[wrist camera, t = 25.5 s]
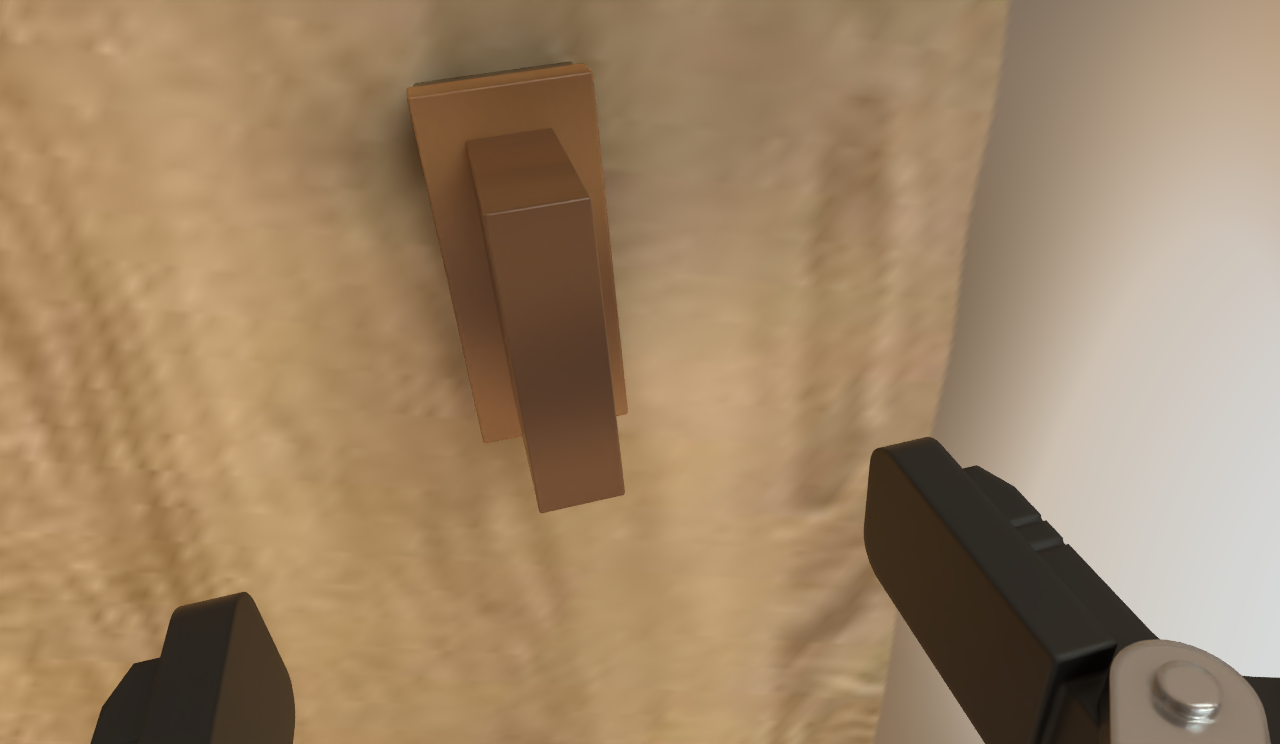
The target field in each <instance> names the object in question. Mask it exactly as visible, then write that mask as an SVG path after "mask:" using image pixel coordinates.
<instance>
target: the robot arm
mask: <svg viewBox="0 0 1280 744" xmlns="http://www.w3.org/2000/svg"><path fill="white" fill-rule="evenodd" d="M864 542H865V548H866V552H867V555H868V559H869V562H870V564H871V567H872V569H873V571H874V573H875V575H876V577H877V578H878V580H879V581H880V583H881V584H882V586H883V587H884V589H885V591H886V592H887V594H888V595H889V597H890V598H891V600H892V601H893V603H894V604H895V606H896V607H897V609H898V611H899V612H900V614H901V615H902V617H903V618H904V620H905V621H906V623H907V624H908V626H909V627H910V629H911V630H912V632H913V634H914V635H915V636H916V638H917V640H918V641H919V643H920V644H921V646H922V647H923V649H924V650H925V652H926V654H927V655H928V657H929V658H930V660H931V661H932V663H933V664H934V666H935V667H936V669H937V670H938V672H939V673H940V675H941V676H942V678H943V680H944V681H945V683H946V684H947V686H948V687H949V689H950V690H951V692H952V693H953V695H954V697H955V698H956V699H957V701H958V703H959V704H960V706H961V707H962V709H963V710H964V712H965V713H966V715H967V716H968V718H969V719H970V721H971V723H972V724H973V725H974V727H975V729H976V730H977V732H978V733H979V735H980V736H981V738H982V739H983V741H984V743H985V744H1280V678H1269V677H1249V676H1242V675H1240V674H1239V673H1238V672H1237V671H1236V670H1234V669H1233V668H1232V667H1231V666H1230V665H1228V664H1227V663H1225V662H1224V661H1222V660H1221V659H1219V658H1217V657H1215V656H1214V655H1212V654H1210V653H1208V652H1206V651H1204V650H1201V649H1199V648H1196V647H1194V646H1191V645H1187V644H1184V643H1181V642H1175V641H1169V640H1160V639H1159V638H1158V637H1157V636H1155V634H1153V633H1152V632H1151V631H1150V630H1149V629H1148V628H1147V627H1146V626H1145V624H1144V623H1143V622H1142V621H1141V620H1140V619H1139V618H1138V617H1137V616H1136V615H1135V614H1134V613H1133V612H1132V611H1131V610H1130V609H1129V607H1128V606H1127V605H1126V604H1125V603H1124V602H1123V601H1122V600H1121V599H1120V598H1119V597H1118V596H1117V595H1116V594H1115V593H1114V592H1113V591H1112V589H1111V588H1110V587H1109V586H1108V585H1107V584H1106V583H1105V582H1104V581H1103V580H1102V579H1101V578H1100V577H1099V576H1098V575H1097V574H1096V573H1095V572H1094V570H1093V569H1092V568H1091V567H1090V566H1089V565H1088V564H1087V563H1086V562H1085V561H1084V560H1083V559H1082V558H1081V557H1080V556H1079V555H1078V554H1077V553H1076V551H1075V550H1074V549H1073V548H1072V547H1071V546H1070V545H1069V544H1067V545H1065V544H1064V542H1063V538H1062V537H1061V536H1060V534H1059V533H1058V532H1057V531H1056V530H1055V529H1054V528H1053V527H1052V526H1051V525H1050V524H1049V523H1048V522H1047V521H1043V520H1042V519H1041V515H1040V513H1039V512H1038V511H1037V510H1036V509H1035V508H1034V507H1033V506H1032V505H1031V504H1030V503H1029V502H1028V501H1027V500H1026V499H1025V497H1024V496H1023V495H1022V494H1021V493H1020V492H1019V491H1018V490H1017V489H1016V488H1015V487H1014V486H1012V485H1010V484H1009V483H1007V482H1005V481H1004V480H1002V479H1000V478H998V477H996V476H994V475H993V474H991V473H990V472H988V471H986V470H984V469H983V468H981V467H979V466H972V467H968V468H964V469H962V468H961V466H960V465H959V464H958V463H957V462H956V461H955V460H954V459H953V458H952V457H951V455H950V454H949V453H948V452H947V451H946V450H945V448H944V447H943V446H942V445H941V444H940V443H939V442H938V441H937V440H935V439H934V438H931V437H925V438H920V439H916V440H912V441H907V442H903V443H899V444H894V445H890V446H886V447H881V448H877V449H875V450H874V451H873V453H872V456H871V460H870V468H869V479H868V490H867V501H866V511H865V522H864ZM294 728H295V704H294V695H293V689H292V684H291V681H290V677H289V674H288V671H287V669H286V667H285V665H284V663H283V661H282V658H281V656H280V654H279V652H278V650H277V648H276V646H275V644H274V642H273V640H272V637H271V635H270V633H269V631H268V629H267V627H266V625H265V623H264V621H263V619H262V617H261V614H260V612H259V610H258V608H257V606H256V604H255V602H254V600H253V598H252V597H251V596H250V595H249V594H248V593H246V592H241V593H236V594H232V595H228V596H223V597H219V598H215V599H210V600H206V601H202V602H197V603H193V604H188V605H184V606H180V607H178V608H176V610H175V611H174V612H173V614H172V617H171V620H170V623H169V627H168V630H167V634H166V638H165V642H164V645H163V649H162V653H161V657H160V658H156V659H152V660H147V661H143V662H139V663H135V664H133V665H132V667H131V668H130V670H129V671H128V672H127V674H126V675H125V676H124V678H123V679H122V681H121V682H120V683H119V685H118V686H117V687H116V689H115V690H114V691H113V693H112V694H111V696H110V697H109V698H108V700H107V701H106V702H105V704H104V705H103V706H102V709H101V712H100V715H99V719H98V722H97V725H96V728H95V731H94V734H93V738H92V741H91V744H293V738H294Z"/></svg>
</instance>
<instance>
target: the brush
mask: <svg viewBox="0 0 1280 744" xmlns="http://www.w3.org/2000/svg"><path fill="white" fill-rule="evenodd" d="M407 101H408V105H409V110H410V114H411V119H412V123H413V128H414V132H415V137H416V141H417V146H418V150H419V155H420V159H421V164H422V168H423V173H424V177H425V182H426V186H427V191H428V195H429V200H430V204H431V209H432V213H433V218H434V222H435V226H436V231H437V235H438V240H439V244H440V249H441V253H442V258H443V262H444V267H445V271H446V276H447V280H448V285H449V289H450V294H451V298H452V303H453V307H454V312H455V316H456V321H457V325H458V330H459V334H460V339H461V343H462V348H463V352H464V357H465V361H466V366H467V370H468V374H469V379H470V383H471V388H472V392H473V397H474V401H475V406H476V410H477V415H478V419H479V424H480V428H481V433H482V437H483V442H484V443H490V442H494V441H499V440H504V439H509V438H514V437H518V436H523V440H524V445H525V449H526V454H527V458H528V463H529V467H530V472H531V476H532V481H533V485H534V490H535V494H536V499H537V504H538V508H539V511H540V513H545V512H549V511H554V510H558V509H562V508H567V507H571V506H576V505H580V504H585V503H589V502H594V501H598V500H603V499H607V498H612V497H616V496H621V495H624V493H625V489H624V480H623V471H622V463H621V454H620V445H619V436H618V428H617V419H616V416H619V415H624V414H627V413H628V408H627V399H626V389H625V380H624V370H623V361H622V351H621V341H620V332H619V322H618V313H617V303H616V294H615V284H614V275H613V265H612V255H611V246H610V236H609V227H608V217H607V208H606V198H605V188H604V179H603V169H602V160H601V150H600V141H599V131H598V121H597V112H596V102H595V93H594V83H593V74H592V72H591V70H590V69H589V68H588V67H587V66H586V64H584V63H581V64H573V63H572V62H564V63H557V64H550V65H543V66H536V67H528V68H521V69H514V70H507V71H500V72H493V73H485V74H478V75H471V76H464V77H457V78H449V79H442V80H435V81H428V82H421V83H415V84H414V86H413V87H409V88H407Z"/></svg>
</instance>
